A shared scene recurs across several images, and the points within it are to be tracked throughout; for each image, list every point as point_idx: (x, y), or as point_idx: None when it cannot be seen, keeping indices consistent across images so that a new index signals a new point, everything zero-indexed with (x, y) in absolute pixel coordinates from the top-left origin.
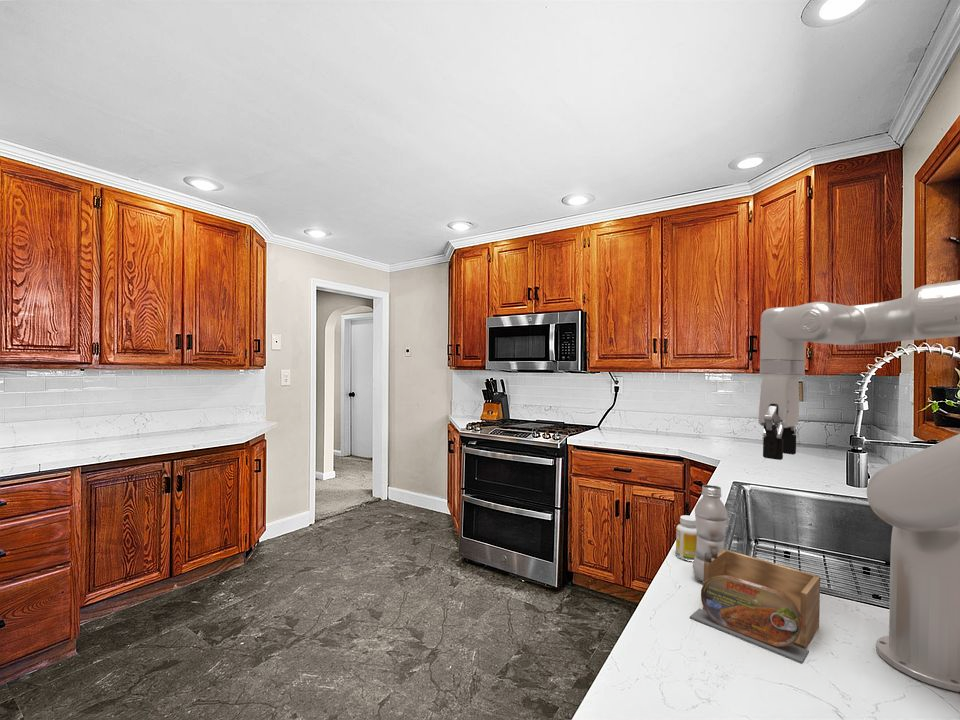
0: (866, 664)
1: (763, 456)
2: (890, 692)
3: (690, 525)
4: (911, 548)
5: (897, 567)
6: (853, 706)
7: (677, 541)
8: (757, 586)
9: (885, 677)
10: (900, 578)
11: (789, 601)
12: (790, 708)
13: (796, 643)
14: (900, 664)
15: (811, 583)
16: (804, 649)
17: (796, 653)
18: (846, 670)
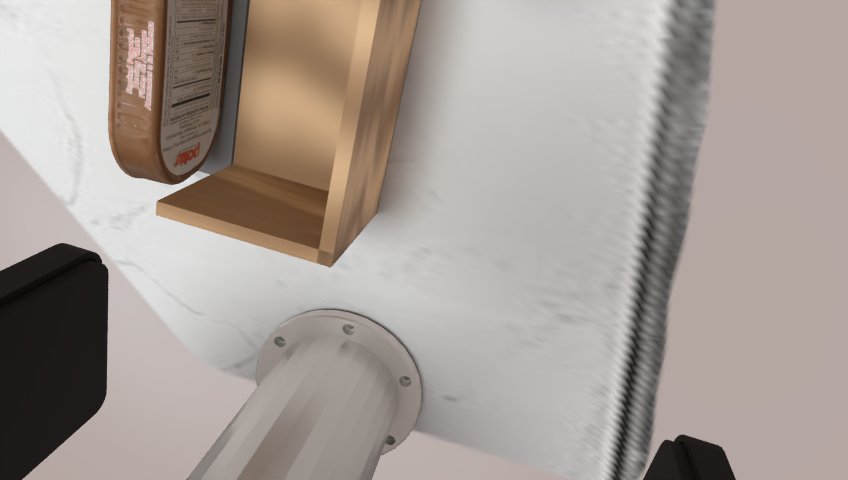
0: (266, 278)
1: (61, 246)
2: (190, 295)
3: None
4: None
5: (203, 474)
6: (98, 229)
7: None
8: (132, 83)
9: (239, 299)
10: (210, 458)
11: (134, 166)
12: (9, 131)
13: (234, 157)
14: (270, 336)
15: (248, 236)
16: None
17: None
18: (212, 239)
